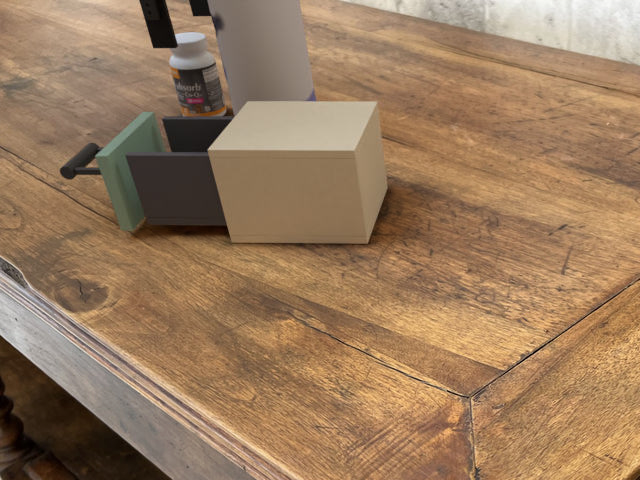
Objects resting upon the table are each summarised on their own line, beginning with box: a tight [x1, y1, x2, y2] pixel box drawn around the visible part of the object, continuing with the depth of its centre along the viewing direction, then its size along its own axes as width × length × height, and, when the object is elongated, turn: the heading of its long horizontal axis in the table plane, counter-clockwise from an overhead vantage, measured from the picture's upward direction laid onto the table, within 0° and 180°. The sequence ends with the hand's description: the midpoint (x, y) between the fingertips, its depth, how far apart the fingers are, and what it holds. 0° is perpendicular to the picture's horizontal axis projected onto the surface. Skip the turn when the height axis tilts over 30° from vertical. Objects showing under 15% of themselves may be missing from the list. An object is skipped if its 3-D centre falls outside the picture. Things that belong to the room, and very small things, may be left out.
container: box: [207, 0, 317, 116], centre depth 94 cm, size 10×10×20 cm
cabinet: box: [208, 100, 388, 245], centre depth 80 cm, size 14×13×10 cm
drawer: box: [59, 111, 235, 232], centre depth 81 cm, size 18×11×8 cm, turn 88°
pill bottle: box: [168, 31, 227, 116], centre depth 103 cm, size 6×6×10 cm
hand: (186, 31), depth 99 cm, fingers open, 13 cm apart
